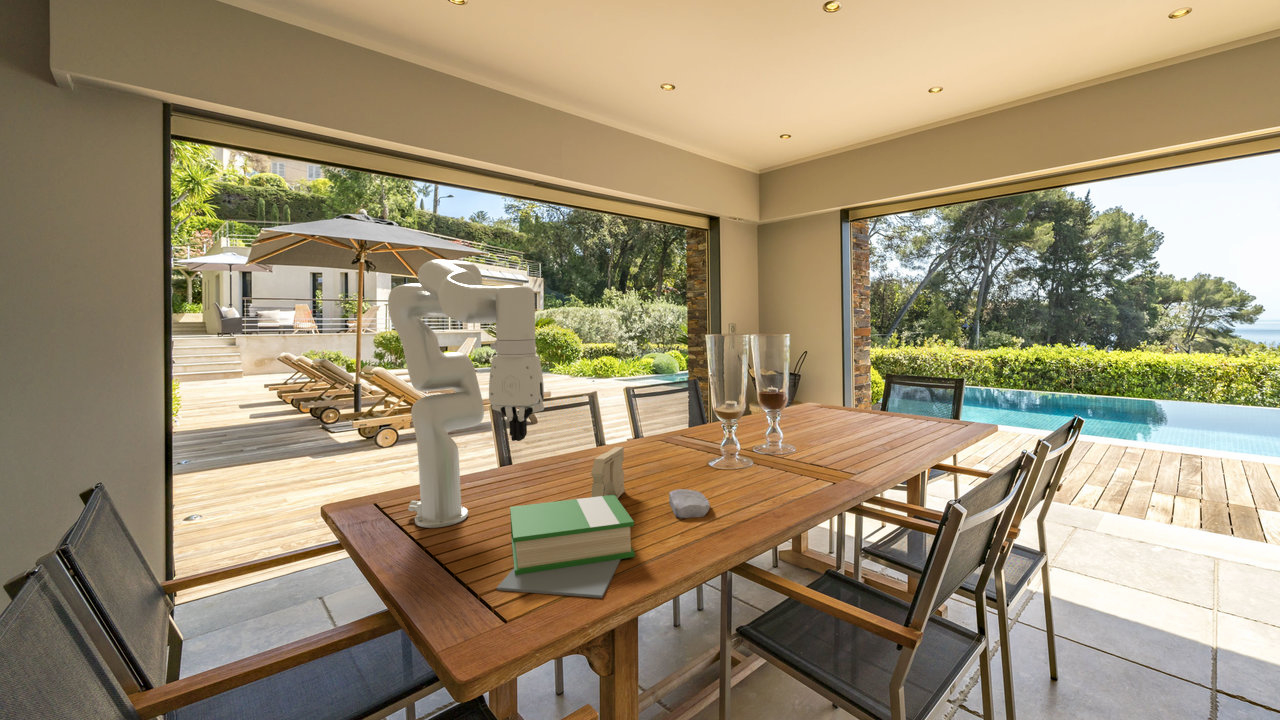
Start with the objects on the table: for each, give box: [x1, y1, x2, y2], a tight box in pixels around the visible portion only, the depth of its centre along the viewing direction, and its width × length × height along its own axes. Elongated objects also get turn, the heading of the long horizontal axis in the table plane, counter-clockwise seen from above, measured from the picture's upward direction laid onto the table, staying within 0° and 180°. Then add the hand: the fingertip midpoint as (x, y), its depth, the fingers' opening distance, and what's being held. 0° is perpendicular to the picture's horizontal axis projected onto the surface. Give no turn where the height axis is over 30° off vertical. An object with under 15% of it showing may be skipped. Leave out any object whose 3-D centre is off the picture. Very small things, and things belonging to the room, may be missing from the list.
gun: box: [590, 446, 626, 500], centre depth 137 cm, size 24×3×15 cm, turn 168°
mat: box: [496, 559, 622, 599], centre depth 104 cm, size 20×22×1 cm
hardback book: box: [509, 495, 636, 575], centre depth 111 cm, size 18×7×24 cm
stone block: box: [668, 488, 711, 519], centre depth 133 cm, size 12×5×10 cm
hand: (518, 439), depth 104 cm, fingers closed
